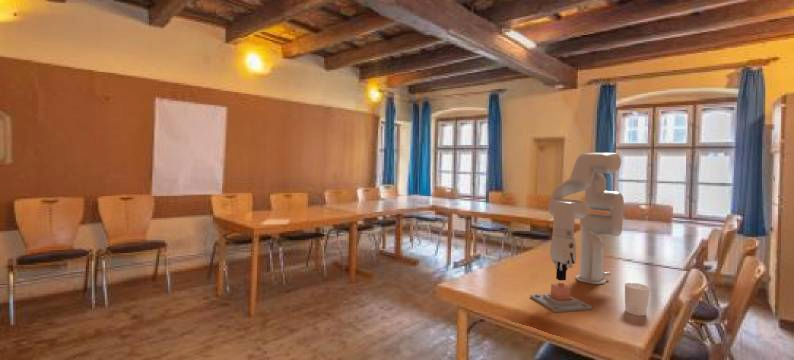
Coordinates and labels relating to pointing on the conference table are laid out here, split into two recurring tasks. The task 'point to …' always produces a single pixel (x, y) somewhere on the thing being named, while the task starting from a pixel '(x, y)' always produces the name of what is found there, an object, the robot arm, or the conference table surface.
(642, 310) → the white cup
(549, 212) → the robot arm
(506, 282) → the conference table surface
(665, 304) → the conference table surface
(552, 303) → the baseplate
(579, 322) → the conference table surface
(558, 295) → the pink knobbed block
